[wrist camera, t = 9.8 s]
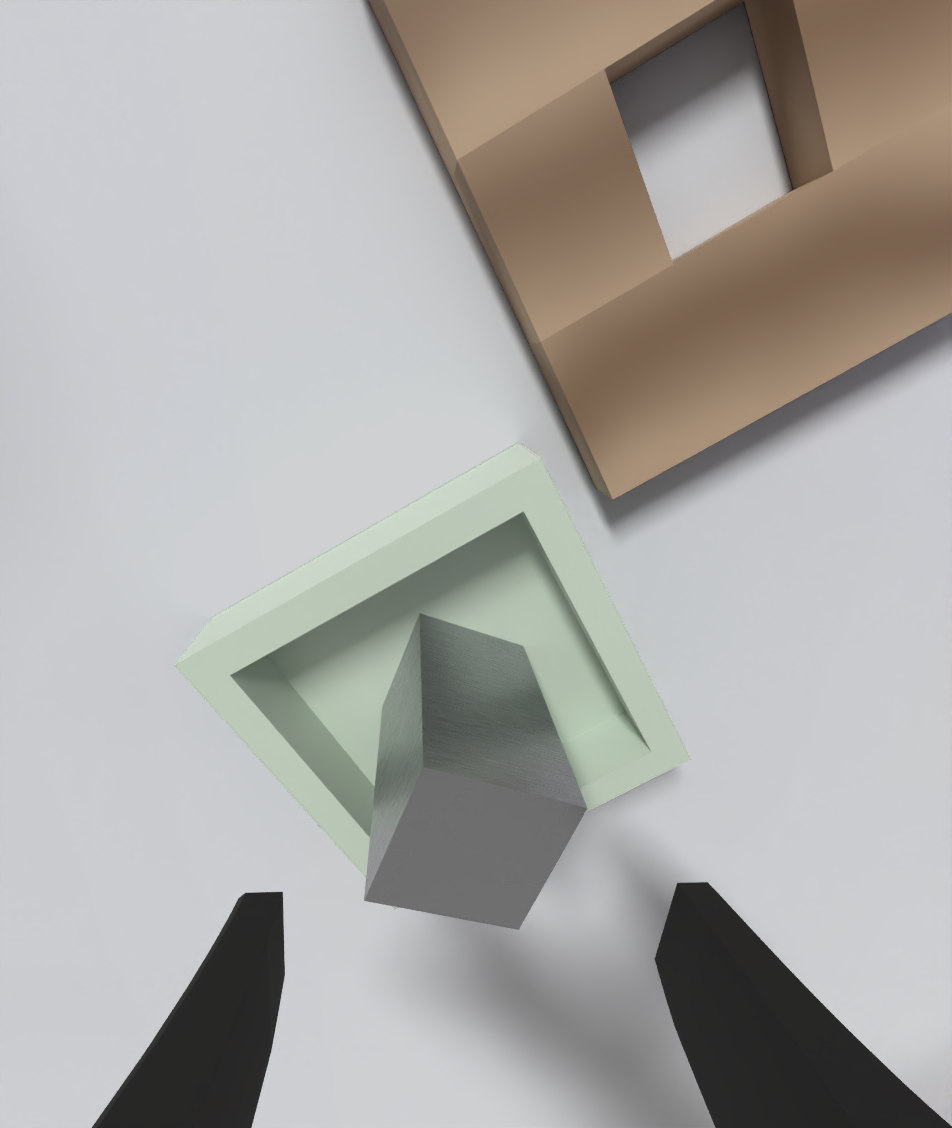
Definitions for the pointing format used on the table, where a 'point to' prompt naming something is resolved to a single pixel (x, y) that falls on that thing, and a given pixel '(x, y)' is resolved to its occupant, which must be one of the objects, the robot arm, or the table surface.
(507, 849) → the pin
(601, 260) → the tan flat square frame
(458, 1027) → the table surface
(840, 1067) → the robot arm
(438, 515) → the tray
